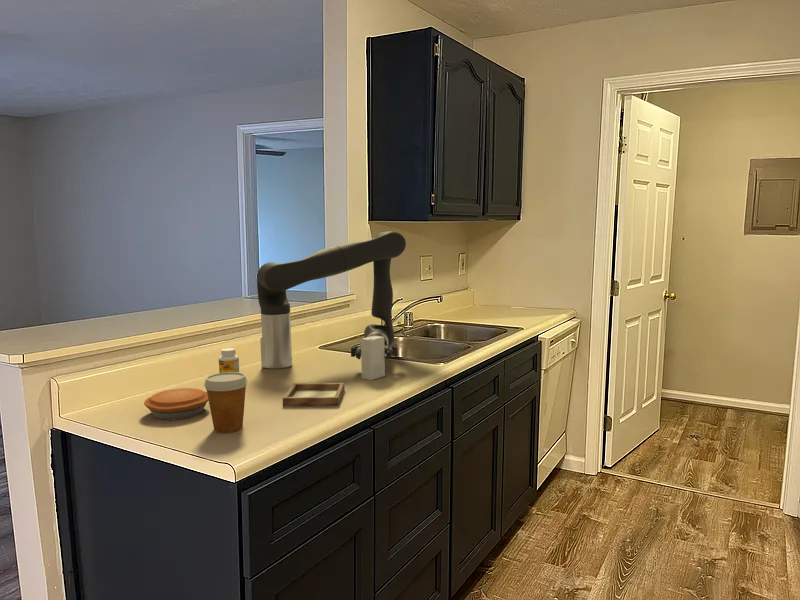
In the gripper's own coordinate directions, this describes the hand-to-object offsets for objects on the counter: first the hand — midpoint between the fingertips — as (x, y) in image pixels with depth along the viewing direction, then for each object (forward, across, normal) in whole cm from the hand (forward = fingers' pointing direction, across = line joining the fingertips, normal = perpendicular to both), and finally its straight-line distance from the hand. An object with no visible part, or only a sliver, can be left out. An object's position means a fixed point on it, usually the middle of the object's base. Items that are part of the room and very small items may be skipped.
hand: (373, 355), depth 183 cm
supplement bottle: (+6, -41, +7) cm, 42 cm away
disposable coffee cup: (+44, -30, +7) cm, 54 cm away
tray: (+21, -14, +6) cm, 26 cm away
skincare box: (0, 0, +7) cm, 7 cm away
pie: (+32, -46, +7) cm, 57 cm away
